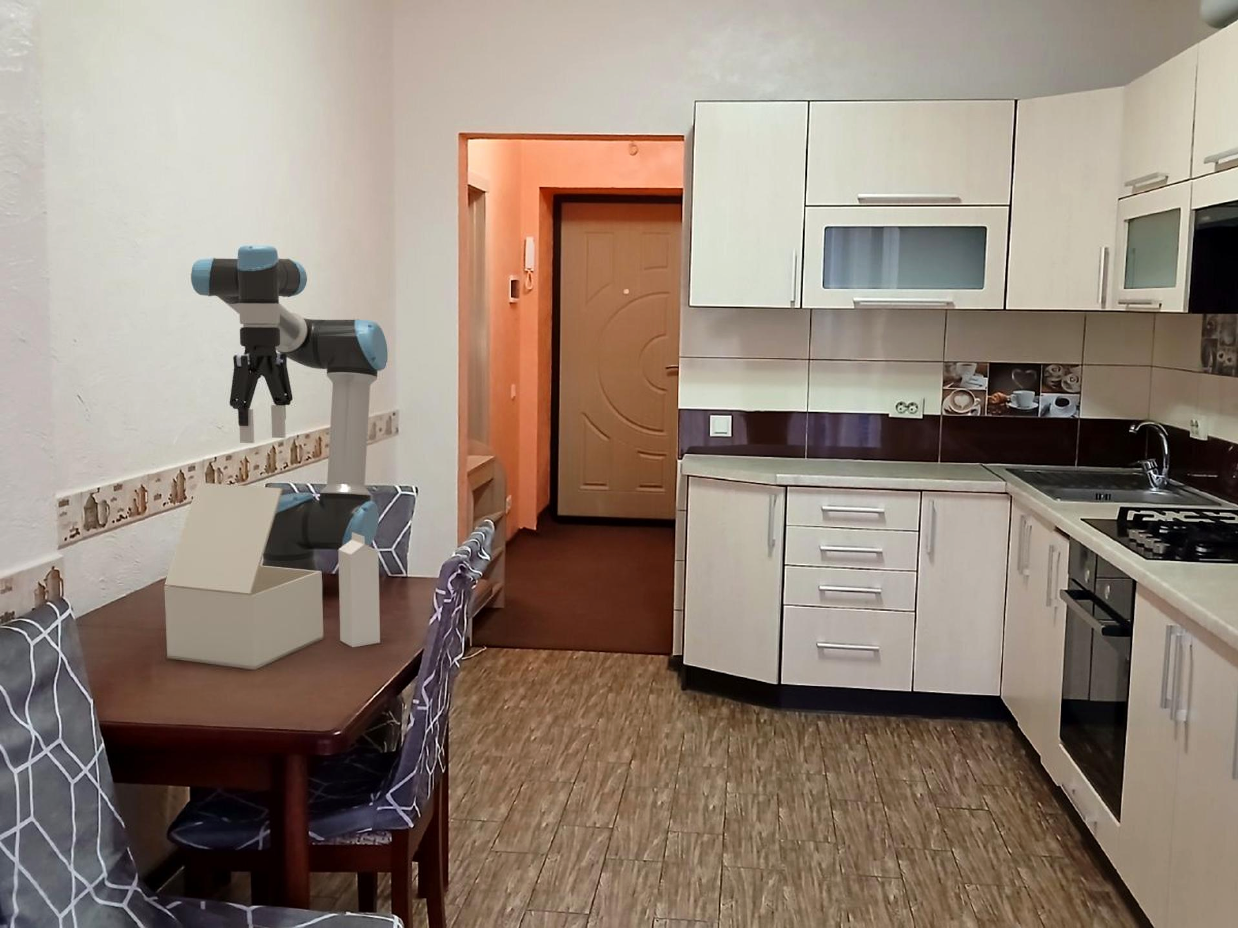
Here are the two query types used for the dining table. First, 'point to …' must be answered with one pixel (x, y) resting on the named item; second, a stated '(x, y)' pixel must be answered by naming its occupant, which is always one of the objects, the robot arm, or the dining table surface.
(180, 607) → the carton
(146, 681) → the dining table surface
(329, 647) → the dining table surface
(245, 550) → the flap
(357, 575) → the milk
